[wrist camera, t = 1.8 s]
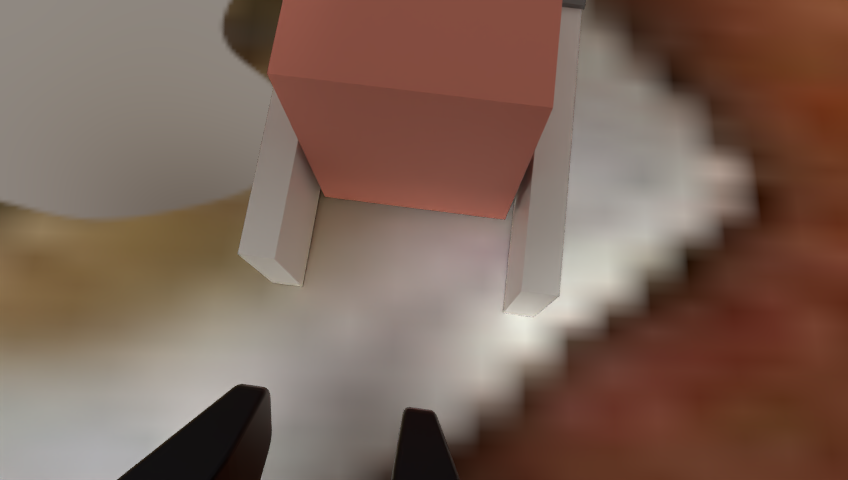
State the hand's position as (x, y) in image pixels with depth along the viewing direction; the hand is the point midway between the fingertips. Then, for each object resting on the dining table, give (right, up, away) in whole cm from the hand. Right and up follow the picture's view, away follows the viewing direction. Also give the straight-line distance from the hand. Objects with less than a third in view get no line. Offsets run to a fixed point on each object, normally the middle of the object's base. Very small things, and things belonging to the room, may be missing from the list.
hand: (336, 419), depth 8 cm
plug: (+1, +6, +14) cm, 15 cm away
